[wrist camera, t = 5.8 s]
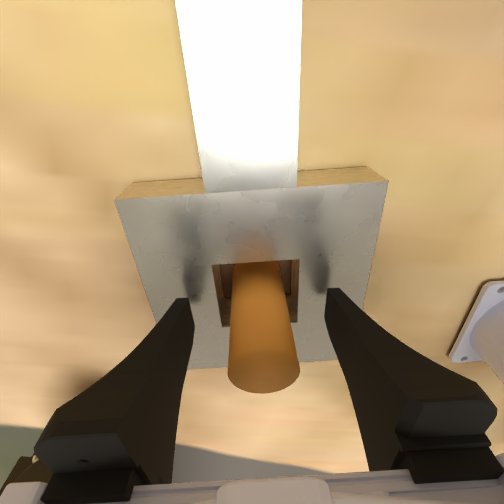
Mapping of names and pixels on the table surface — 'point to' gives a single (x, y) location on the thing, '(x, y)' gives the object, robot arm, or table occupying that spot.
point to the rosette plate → (250, 186)
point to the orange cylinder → (260, 330)
